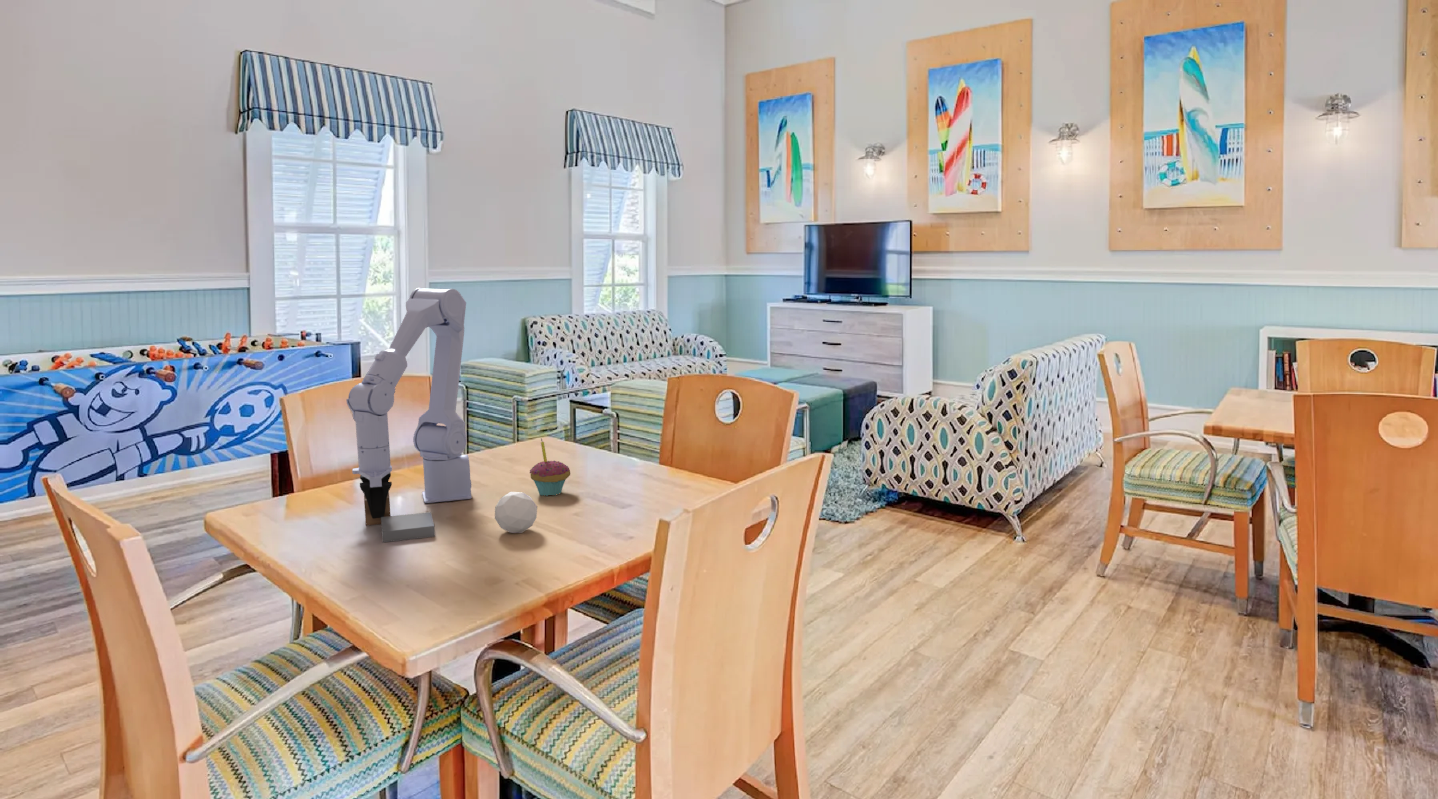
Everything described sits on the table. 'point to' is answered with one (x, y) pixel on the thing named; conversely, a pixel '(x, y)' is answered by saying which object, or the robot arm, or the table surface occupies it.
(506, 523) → the geometric ball
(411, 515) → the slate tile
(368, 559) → the table surface
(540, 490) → the cupcake
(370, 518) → the walnut block
